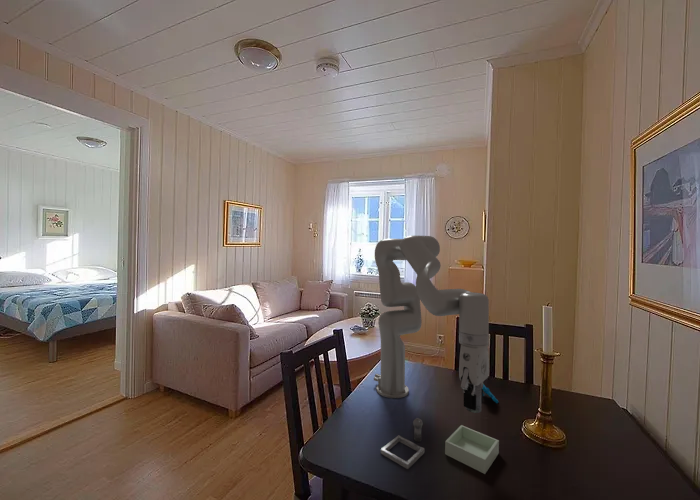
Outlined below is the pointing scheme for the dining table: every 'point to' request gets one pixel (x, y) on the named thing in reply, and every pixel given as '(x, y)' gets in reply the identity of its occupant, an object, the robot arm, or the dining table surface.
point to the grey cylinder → (478, 399)
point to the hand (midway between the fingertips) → (473, 404)
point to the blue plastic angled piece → (486, 391)
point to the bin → (472, 448)
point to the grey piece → (417, 438)
